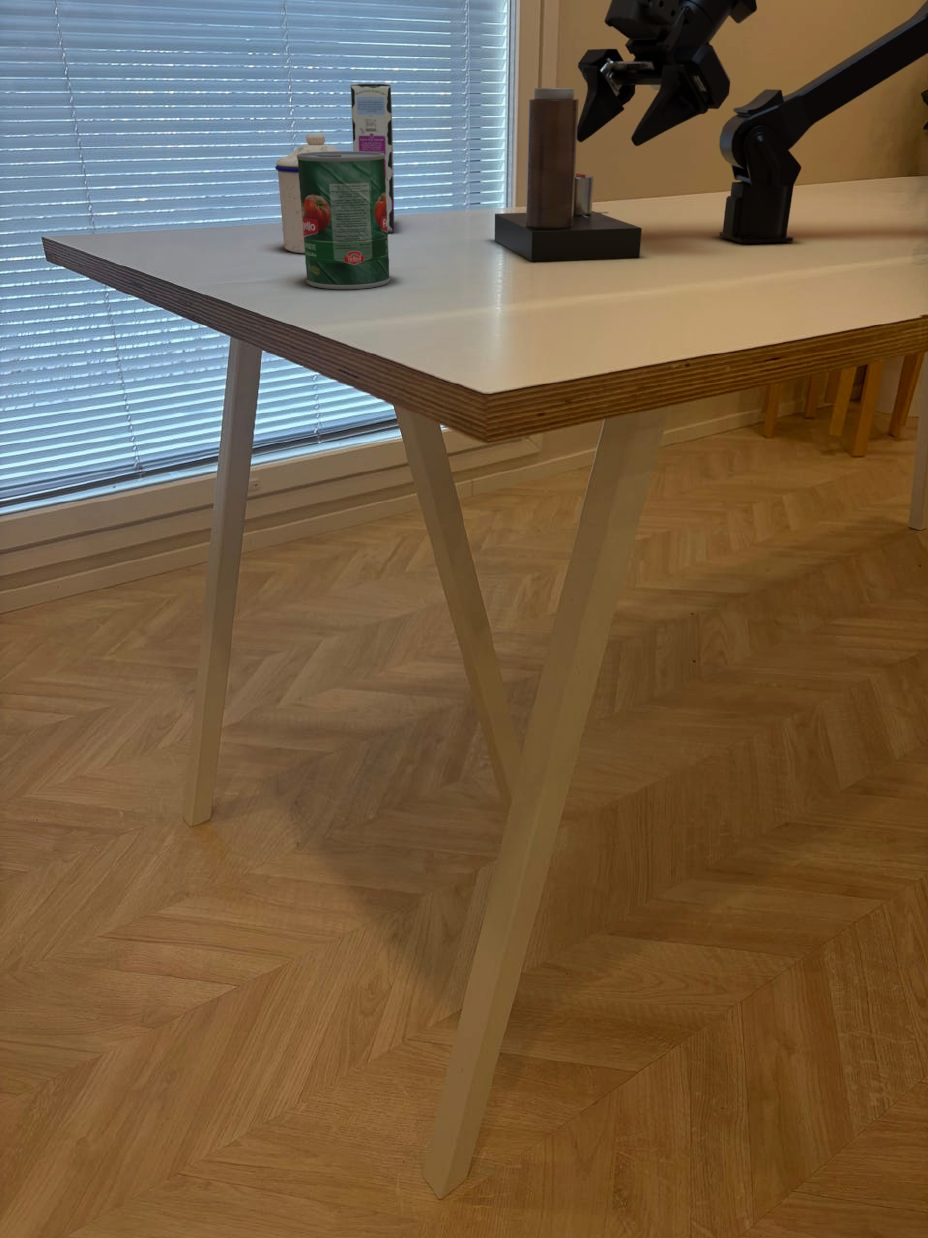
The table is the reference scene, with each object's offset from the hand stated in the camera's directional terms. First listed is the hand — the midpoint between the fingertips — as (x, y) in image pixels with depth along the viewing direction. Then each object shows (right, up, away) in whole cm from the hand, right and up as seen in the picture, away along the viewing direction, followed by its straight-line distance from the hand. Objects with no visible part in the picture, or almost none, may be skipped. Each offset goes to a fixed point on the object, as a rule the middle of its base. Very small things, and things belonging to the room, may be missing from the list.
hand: (604, 140), depth 106 cm
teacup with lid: (-31, -8, +8) cm, 33 cm away
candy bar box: (-26, -1, +23) cm, 35 cm away
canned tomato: (-26, -19, -12) cm, 34 cm away
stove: (-4, -9, +6) cm, 12 cm away
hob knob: (-2, -4, +10) cm, 10 cm away
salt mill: (-6, -9, +1) cm, 11 cm away
